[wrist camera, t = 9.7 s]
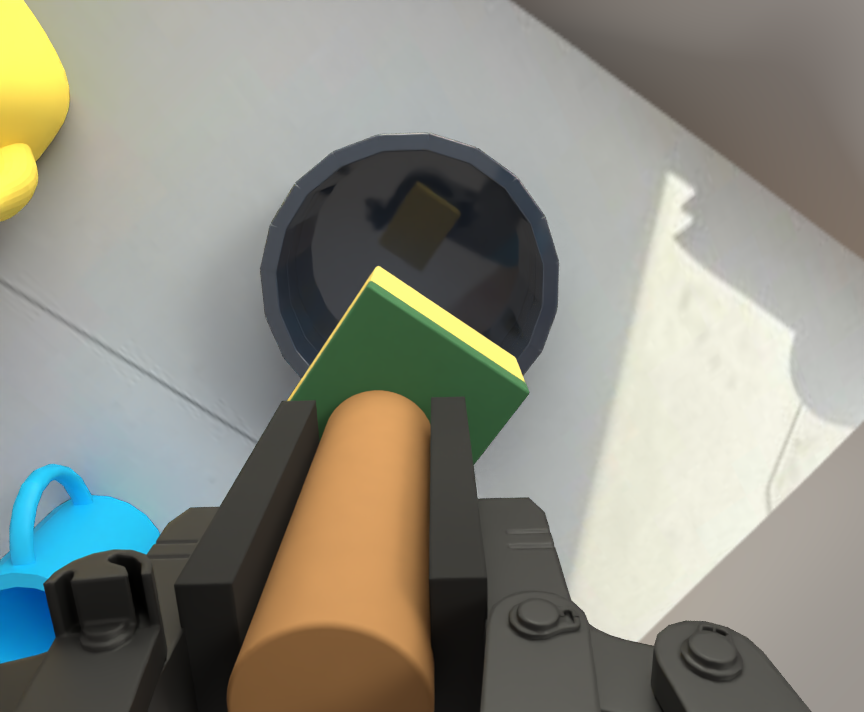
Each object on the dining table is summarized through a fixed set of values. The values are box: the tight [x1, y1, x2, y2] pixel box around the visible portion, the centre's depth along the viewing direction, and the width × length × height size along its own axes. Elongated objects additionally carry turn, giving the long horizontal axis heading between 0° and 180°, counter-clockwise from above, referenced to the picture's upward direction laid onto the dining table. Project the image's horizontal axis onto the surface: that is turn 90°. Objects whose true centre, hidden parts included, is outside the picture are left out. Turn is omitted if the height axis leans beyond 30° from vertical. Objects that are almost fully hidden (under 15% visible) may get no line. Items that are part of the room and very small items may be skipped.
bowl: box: [260, 133, 559, 378], centre depth 36 cm, size 15×15×6 cm
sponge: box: [227, 266, 529, 712], centre depth 13 cm, size 6×4×11 cm
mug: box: [0, 464, 160, 664], centre depth 39 cm, size 12×8×8 cm
